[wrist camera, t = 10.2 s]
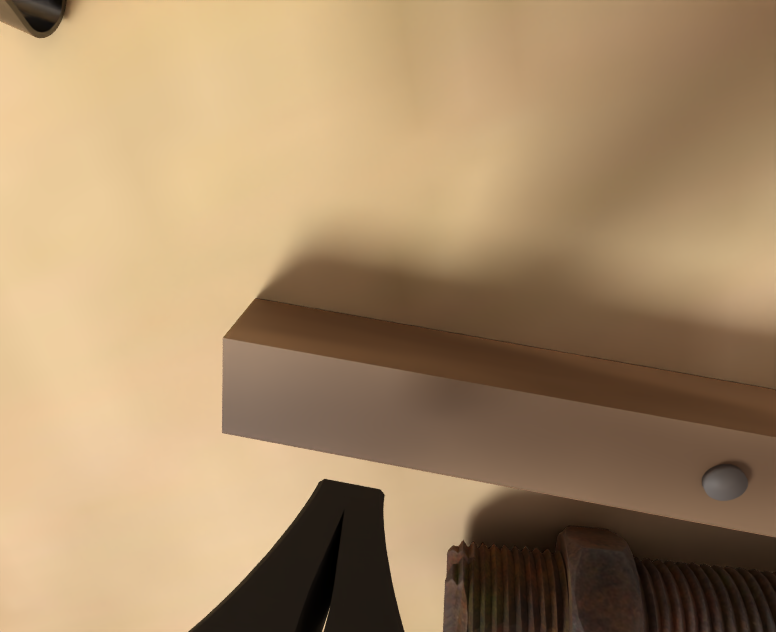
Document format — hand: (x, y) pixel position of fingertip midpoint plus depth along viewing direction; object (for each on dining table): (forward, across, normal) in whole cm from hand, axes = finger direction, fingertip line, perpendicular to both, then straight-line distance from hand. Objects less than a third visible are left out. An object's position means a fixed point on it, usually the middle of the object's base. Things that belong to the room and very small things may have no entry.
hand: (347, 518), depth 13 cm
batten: (+6, -9, -1) cm, 11 cm away
